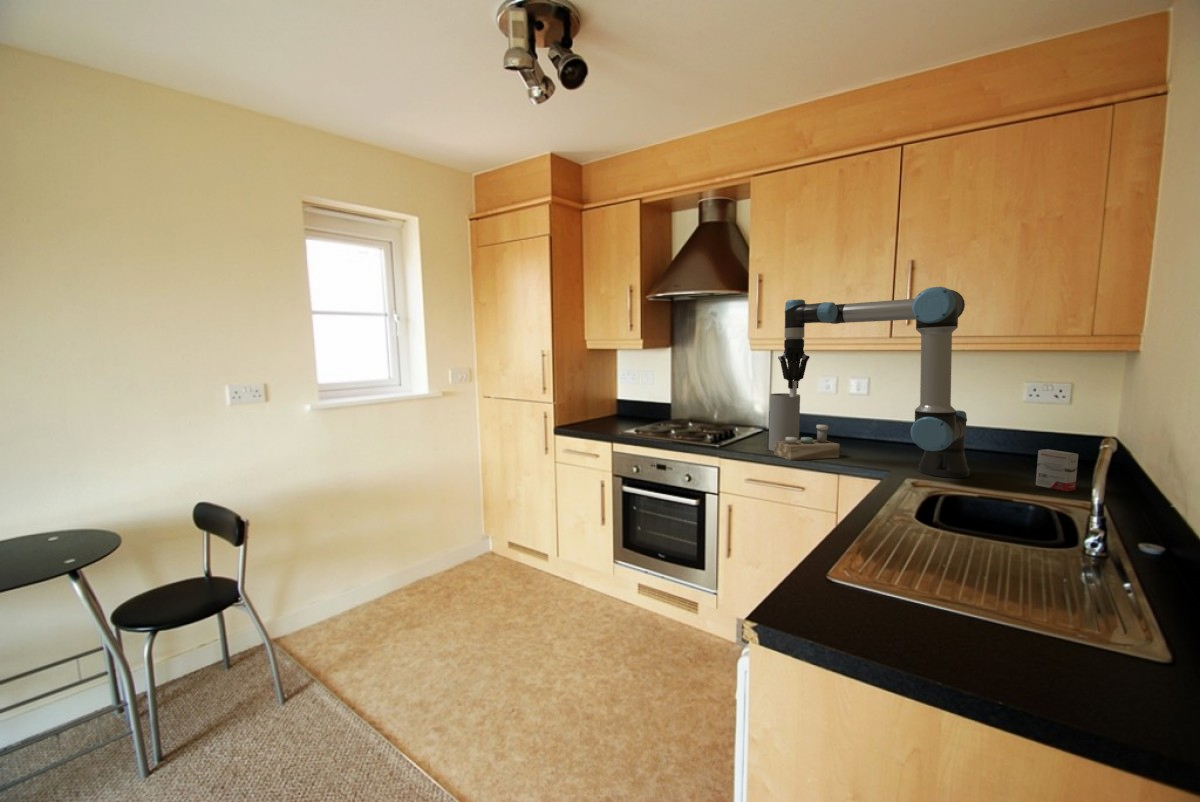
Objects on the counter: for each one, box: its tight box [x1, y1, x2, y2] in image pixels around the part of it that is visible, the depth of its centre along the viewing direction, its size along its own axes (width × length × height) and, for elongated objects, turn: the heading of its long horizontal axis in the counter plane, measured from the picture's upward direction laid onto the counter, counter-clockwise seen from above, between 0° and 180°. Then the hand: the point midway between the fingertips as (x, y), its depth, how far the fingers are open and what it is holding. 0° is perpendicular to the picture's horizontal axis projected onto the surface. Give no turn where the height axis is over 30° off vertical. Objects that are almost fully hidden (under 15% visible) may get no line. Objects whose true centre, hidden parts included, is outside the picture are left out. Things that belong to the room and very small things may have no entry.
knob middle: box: [800, 436, 813, 444], centre depth 211 cm, size 5×5×8 cm
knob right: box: [815, 424, 829, 443], centre depth 211 cm, size 5×5×8 cm
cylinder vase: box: [768, 392, 801, 452], centre depth 223 cm, size 12×12×25 cm
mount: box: [773, 438, 841, 461], centre depth 211 cm, size 12×22×6 cm, turn 101°
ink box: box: [1035, 449, 1079, 492], centre depth 161 cm, size 8×5×12 cm, turn 23°
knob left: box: [785, 437, 797, 445], centre depth 209 cm, size 5×5×8 cm
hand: (793, 396), depth 207 cm, fingers closed
